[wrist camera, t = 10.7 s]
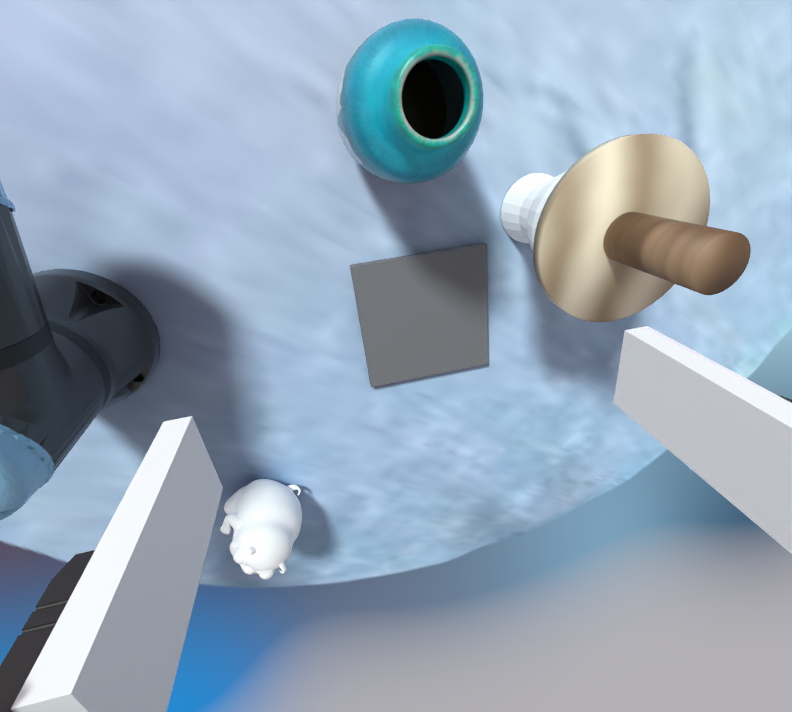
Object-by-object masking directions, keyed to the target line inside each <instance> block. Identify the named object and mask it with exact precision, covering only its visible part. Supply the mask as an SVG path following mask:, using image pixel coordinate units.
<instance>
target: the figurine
mask: <svg viewBox="0 0 792 712" xmlns="http://www.w3.org/2000/svg"><path fill="white" fill-rule="evenodd" d="M294 490H298V491H299V493H298V494H297V496H298V495H299V494H300V493H301V489H300V488H299V487H298V486H297V485H288V486H285V485H283V484H282V483H279V482H277V481H274V480H270V479H258V480H254V481H252V482H251V483H249V484H248V485H247V486H244V487H242V488H240V489H239V490H238V491H237V492H235V493H234V494H233V495H232V496H231V497H230V498H229V499H228V500H227V501H226V503H225V505H224V511H225V513H226V514H228V515H227V516H226V517H225V519H224V522H223V525H222V526H221V528H220V531H221V532H222V533H223V534H227V535H228V534H229V533H230V525H231V526H232V528H233V529H234V534H233V541H232V542H231V544H230V551H231V554H232V555H233V559H234V560H235V562H236V563H238V564H240V566H241V568H242V569H243V571H244V572H245V573H246V574H249V575H251V574H255V573H257V574H259V576H260V577H261V578H262V579H269V578H271V577H272V576H273V574H274V572H275V569H278V568H279V567H280V568H281V570H282V571H281V570H279V571H280V572H281V573H282V574H283V573H285V572H286V571H287V569H286V566H285V564H284V563H285V561H286V560H287V558H288V557H289V555H290V553H291V550H292V546H293V543H294V542H295V540H296V538H297V537H298V534H299V532H300V528H301V523H302V509H301V505H300V502H299V500H298V498H297V496H296V495H295V494H294V493H293V491H294Z"/></svg>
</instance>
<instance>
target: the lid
mask: <svg viewBox="0 0 792 712" xmlns="http://www.w3.org/2000/svg"><path fill="white" fill-rule="evenodd" d="M709 207H710V192H709V184H708V179H707V176H706V173H705V170H704V167H703V166H702V164H701V162H700V160H699V158H698V157H697V156H696V155H695V153H694V152H693V151H692V150H691V149H690V148H689V147H687V146H686V145H685V144H684V143H682V142H680V141H678V140H676V139H675V138H671V137H668V136H665V135H658V134H638V135H627V136H623V137H618V138H615V139H613V140H610V141H607V142H605V143H603V144H601V145H599V146H597V147H595V148H594V149H592V150H591V151H589V152H588V153H586V154H585V155H583V156H582V157H581V158H580V159H579V160H578V161H577V162H575V163H574V164H573V165H572V166H571V167H570V168H569V169H568V170H567V172H566V173H565V174H564V175H563V176H562V177H561V179H560V180H559V181H558V183H557V184H556V185H555V187H554V188H553V190H552V192H551V193H550V195H549V197H548V198H547V200H546V203H545V205H544V207H543V209H542V211H541V214H540V217H539V220H538V223H537V227H536V232H535V236H534V245H533V260H534V267H535V272H536V275H537V279H538V281H539V284H540V286H541V288H542V290H543V291H544V293H545V294H546V296H547V297H548V298H549V299H550V300H551V301H552V302H553V303H554V304H555V305H556V306H558V307H559V308H560V309H562V310H563V311H565V312H566V313H568V314H570V315H572V316H574V317H576V318H579V319H582V320H586V321H592V322H607V321H614V320H618V319H622V318H625V317H628V316H630V315H633V314H635V313H637V312H639V311H641V310H643V309H645V308H646V307H648V306H649V305H651V304H653V303H654V302H655V301H656V300H658V299H659V298H660V297H662V296H663V295H664V294H665V293H666V292H667V291H668V290H669V289H670V288H671V287H672V286H673V285H674V284H677V285H680V286H683V287H685V288H688V289H690V290H693V291H696V292H698V293H701V294H704V295H714V294H717V293H720V292H722V291H724V290H726V289H727V288H729V287H730V286H731V285H733V284H734V283H735V282H736V281H737V280H738V279H739V277H740V276H741V275H742V273H743V272H744V270H745V268H746V266H747V264H748V261H749V258H750V244H749V241H748V239H747V238H746V237H745V236H744V235H743V234H741V233H737V232H732V231H727V230H722V229H717V228H712V227H708V226H707V221H708V216H709Z"/></svg>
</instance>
